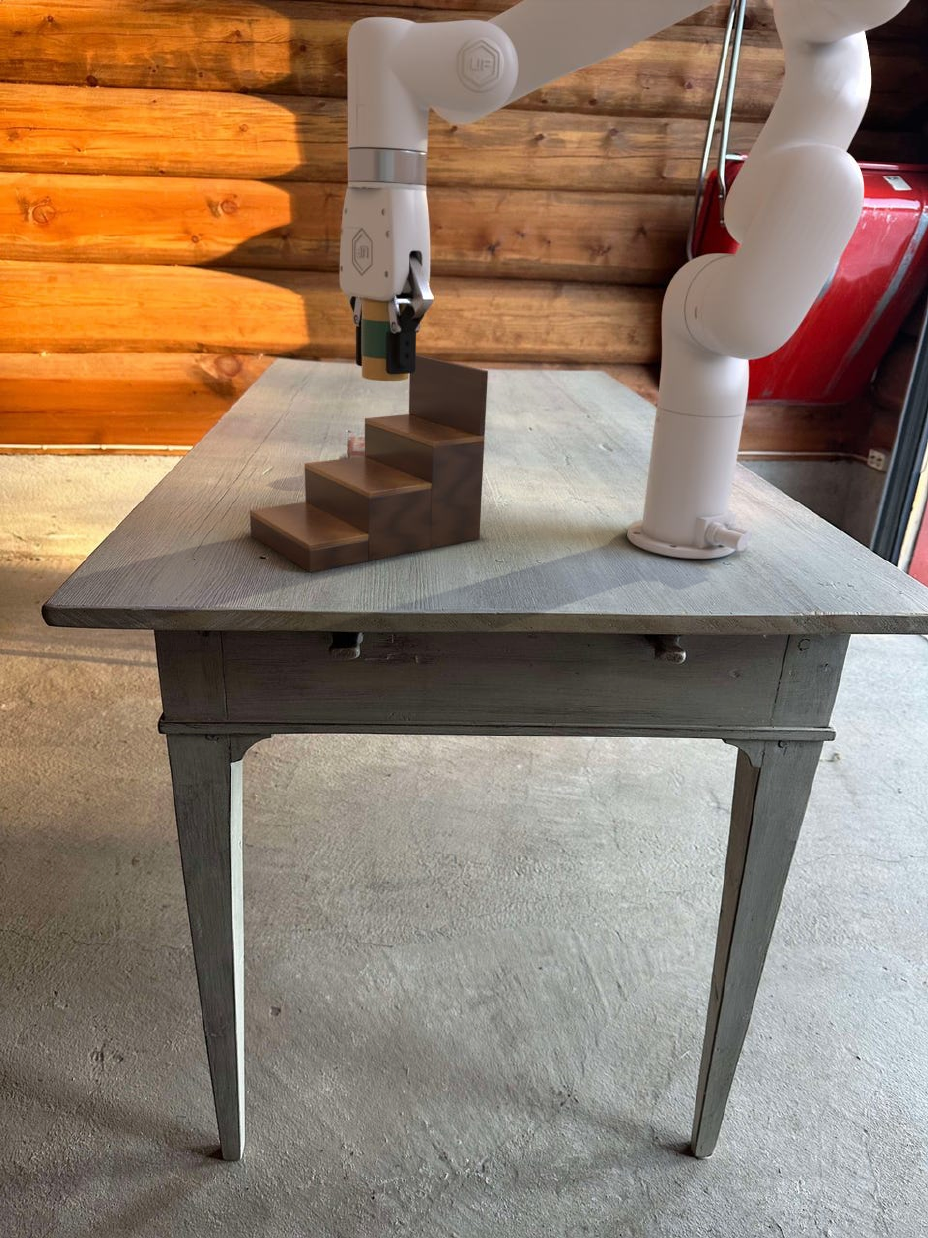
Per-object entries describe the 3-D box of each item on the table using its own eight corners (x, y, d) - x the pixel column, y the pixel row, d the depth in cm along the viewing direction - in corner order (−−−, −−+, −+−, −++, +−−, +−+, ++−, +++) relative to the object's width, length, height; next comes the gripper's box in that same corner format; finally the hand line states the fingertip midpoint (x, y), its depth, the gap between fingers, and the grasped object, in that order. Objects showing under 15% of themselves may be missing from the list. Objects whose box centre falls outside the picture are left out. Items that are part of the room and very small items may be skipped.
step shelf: (309, 572, 93) (305, 383, 85) (250, 535, 103) (241, 362, 96) (479, 538, 105) (488, 370, 98) (411, 508, 116) (415, 353, 108)
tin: (377, 382, 91) (378, 298, 88) (351, 375, 95) (351, 293, 92) (418, 379, 94) (420, 297, 91) (392, 372, 98) (393, 293, 94)
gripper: (309, 171, 91) (312, 359, 98) (404, 169, 79) (400, 384, 86) (373, 177, 95) (371, 356, 102) (473, 175, 83) (464, 379, 90)
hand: (385, 367), depth 94 cm, fingers closed on tin, 5 cm apart
